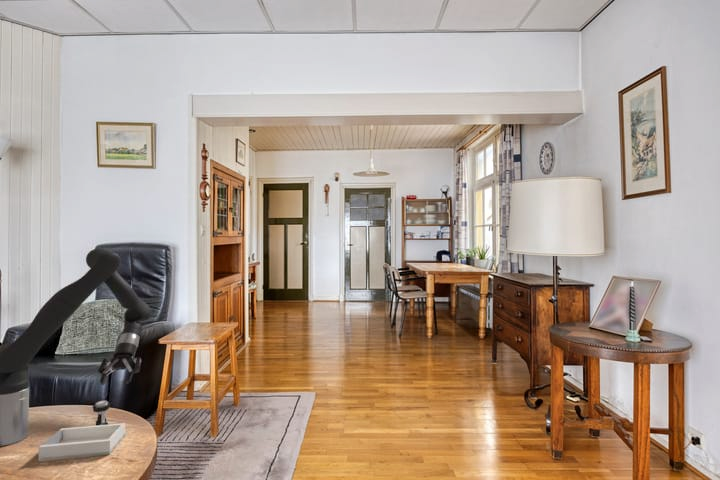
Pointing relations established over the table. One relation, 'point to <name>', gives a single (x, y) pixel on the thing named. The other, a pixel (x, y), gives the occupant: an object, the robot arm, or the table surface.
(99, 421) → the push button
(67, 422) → the table surface
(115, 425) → the tray
